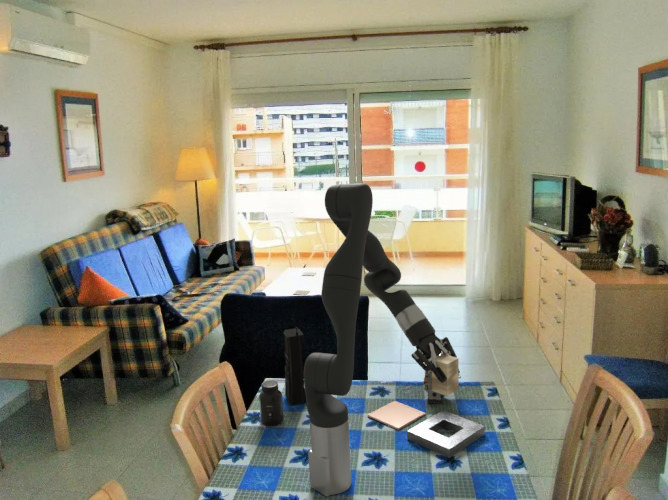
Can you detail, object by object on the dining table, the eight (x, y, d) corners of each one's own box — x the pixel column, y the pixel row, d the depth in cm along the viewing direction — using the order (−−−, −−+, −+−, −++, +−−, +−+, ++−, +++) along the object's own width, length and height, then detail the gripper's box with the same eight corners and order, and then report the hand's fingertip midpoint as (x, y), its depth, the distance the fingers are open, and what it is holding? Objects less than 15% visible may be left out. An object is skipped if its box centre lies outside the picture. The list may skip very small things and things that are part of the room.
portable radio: (284, 395, 193) (278, 322, 188) (302, 392, 195) (297, 319, 190) (289, 406, 186) (284, 330, 181) (308, 402, 188) (303, 327, 183)
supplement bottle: (257, 426, 175) (254, 388, 172) (265, 415, 181) (262, 378, 179) (279, 428, 173) (276, 389, 170) (286, 416, 179) (284, 379, 177)
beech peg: (447, 396, 157) (447, 364, 155) (432, 390, 161) (431, 359, 159) (458, 389, 161) (458, 358, 159) (443, 384, 164) (443, 353, 162)
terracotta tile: (398, 430, 168) (398, 428, 168) (367, 416, 177) (367, 414, 177) (425, 414, 176) (425, 412, 176) (394, 402, 185) (394, 400, 185)
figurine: (460, 405, 181) (460, 359, 178) (422, 403, 183) (421, 357, 180) (460, 392, 190) (460, 347, 186) (424, 390, 192) (423, 346, 189)
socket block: (449, 458, 153) (449, 449, 153) (407, 439, 164) (407, 430, 163) (484, 434, 164) (484, 426, 163) (443, 417, 174) (443, 409, 174)
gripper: (405, 324, 158) (442, 379, 151) (438, 311, 167) (475, 362, 161) (390, 339, 163) (426, 393, 156) (424, 325, 172) (458, 375, 166)
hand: (450, 377), depth 159 cm, fingers closed on beech peg, 5 cm apart
